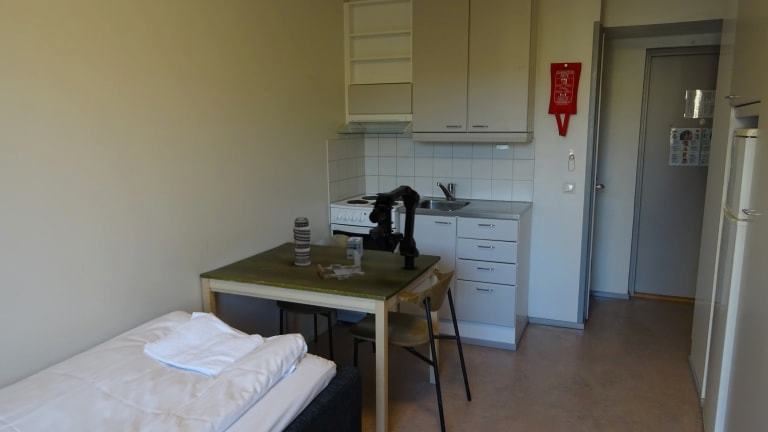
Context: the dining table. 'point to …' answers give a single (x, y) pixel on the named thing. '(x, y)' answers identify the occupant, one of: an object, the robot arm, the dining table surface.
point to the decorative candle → (302, 241)
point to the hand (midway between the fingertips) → (386, 251)
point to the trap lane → (337, 267)
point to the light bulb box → (354, 247)
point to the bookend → (357, 268)
